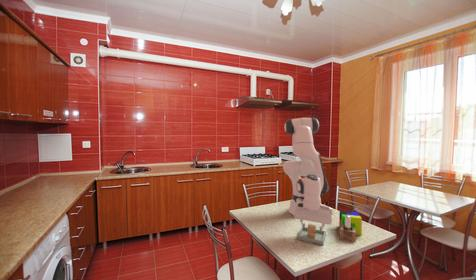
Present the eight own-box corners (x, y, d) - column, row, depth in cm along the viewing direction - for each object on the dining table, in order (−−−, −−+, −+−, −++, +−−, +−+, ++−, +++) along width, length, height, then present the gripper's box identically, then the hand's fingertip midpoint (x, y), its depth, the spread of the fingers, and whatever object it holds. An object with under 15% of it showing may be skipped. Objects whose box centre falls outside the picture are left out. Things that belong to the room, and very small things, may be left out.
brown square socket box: (340, 232, 124) (340, 224, 123) (355, 235, 120) (355, 227, 120) (340, 238, 117) (340, 229, 117) (355, 241, 113) (355, 232, 113)
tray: (302, 230, 127) (302, 226, 127) (325, 235, 121) (325, 231, 121) (297, 239, 115) (297, 235, 115) (322, 245, 109) (323, 241, 109)
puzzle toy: (357, 228, 130) (357, 212, 130) (361, 235, 121) (361, 218, 120) (339, 226, 133) (339, 210, 133) (342, 233, 123) (342, 216, 123)
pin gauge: (345, 235, 120) (345, 214, 120) (350, 236, 119) (350, 215, 119) (344, 237, 118) (344, 216, 118) (350, 238, 116) (350, 217, 116)
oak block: (308, 234, 121) (308, 223, 121) (315, 235, 119) (315, 225, 119) (307, 237, 117) (307, 226, 117) (315, 238, 115) (315, 227, 115)
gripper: (332, 205, 116) (332, 230, 116) (295, 200, 125) (295, 222, 126) (332, 209, 110) (331, 235, 111) (293, 203, 120) (292, 227, 120)
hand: (312, 228), depth 118 cm, fingers open, 8 cm apart
